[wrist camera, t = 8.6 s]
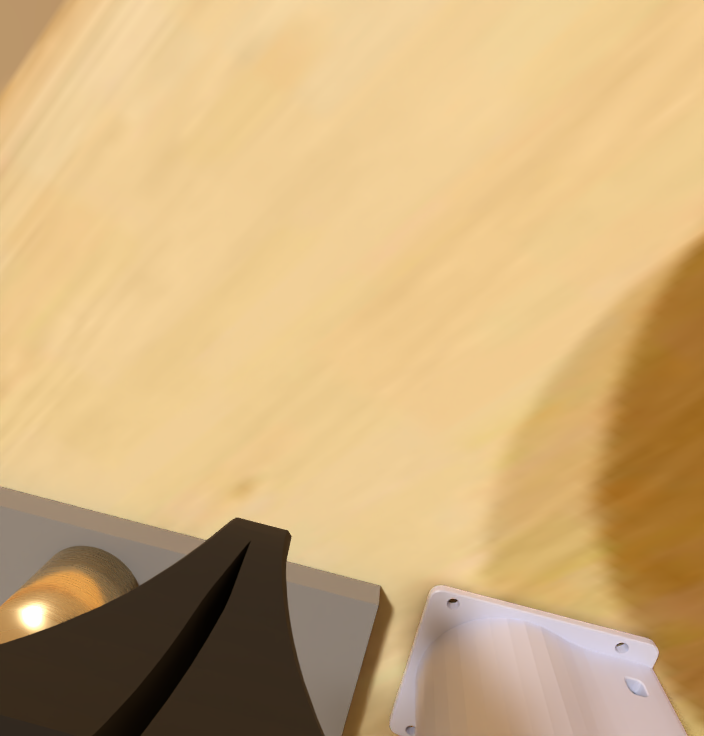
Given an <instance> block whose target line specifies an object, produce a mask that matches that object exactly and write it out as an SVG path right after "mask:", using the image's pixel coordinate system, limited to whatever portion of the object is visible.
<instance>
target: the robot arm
mask: <svg viewBox="0 0 704 736" xmlns="http://www.w3.org/2000/svg"><path fill="white" fill-rule="evenodd" d="M290 541H291V535H290V533H289V531H288V530H284V529H280V528H276V527H272V526H268V525H264V524H260V523H256V522H252V521H249V520H245V519H241V518H235V519H233V520H231V521H230V522H229V523H228V524H226V525H225V526H224V527H223V528H221V529H220V530H219V531H218V532H216V533H215V534H214V535H213V536H211V537H210V538H209V539H208V540H206V541H205V542H204V543H202V544H201V545H200V546H198V547H197V548H196V549H194V550H193V551H191V552H190V553H189V554H187V555H186V556H184V557H183V558H182V559H180V560H179V561H177V562H176V563H174V564H173V565H171V566H170V567H168V568H167V569H165V570H164V571H162V572H160V573H159V574H157V575H156V576H154V577H153V578H151V579H149V580H148V581H146V582H145V583H143V584H141V585H139V586H138V587H136V588H134V589H132V590H131V591H129V592H127V593H125V594H123V595H122V596H120V597H118V598H116V599H114V600H112V601H110V602H108V603H106V604H104V605H102V606H100V607H98V608H95V609H93V610H91V611H88V612H86V613H84V614H81V615H79V616H77V617H74V618H72V619H70V620H67V621H65V622H62V623H60V624H58V625H55V626H52V627H50V628H47V629H44V630H41V631H39V632H36V633H33V634H30V635H27V636H24V637H21V638H18V639H15V640H12V641H9V642H6V643H2V644H0V736H325V735H324V732H323V730H322V728H321V725H320V723H319V721H318V718H317V716H316V713H315V710H314V707H313V704H312V702H311V699H310V696H309V693H308V690H307V687H306V685H305V682H304V679H303V675H302V671H301V668H300V664H299V661H298V657H297V652H296V648H295V644H294V639H293V634H292V628H291V622H290V615H289V608H288V598H287V582H286V561H287V555H288V550H289V546H290ZM450 599H457V600H458V601H457V602H455V603H450V602H448V600H450ZM619 643H624V644H623V645H621V646H616V645H617V644H619ZM658 655H659V651H658V648H657V647H656V645H655V643H654V642H653V641H652V640H650V639H648V638H644V637H641V636H637V635H633V634H629V633H625V632H621V631H618V630H614V629H610V628H606V627H602V626H598V625H594V624H591V623H587V622H583V621H579V620H575V619H571V618H567V617H564V616H560V615H556V614H552V613H548V612H544V611H540V610H537V609H533V608H529V607H525V606H521V605H517V604H514V603H510V602H506V601H502V600H498V599H494V598H490V597H487V596H483V595H479V594H475V593H471V592H467V591H463V590H460V589H456V588H452V587H448V586H444V585H438V586H434V587H433V588H432V589H431V590H430V592H429V595H428V598H427V601H426V604H425V607H424V611H423V614H422V617H421V620H420V623H419V626H418V630H417V633H416V636H415V639H414V642H413V646H412V649H411V652H410V655H409V658H408V661H407V665H406V668H405V671H404V674H403V677H402V681H401V684H400V687H399V690H398V693H397V696H396V700H395V703H394V706H393V709H392V712H391V716H390V725H389V727H390V729H391V731H392V732H393V733H395V734H397V735H401V736H688V735H687V733H686V731H685V730H684V728H683V726H682V724H681V722H680V720H679V718H678V716H677V714H676V712H675V711H674V709H673V707H672V705H671V703H670V701H669V699H668V697H667V695H666V693H665V692H664V690H663V688H662V686H661V684H660V682H659V680H658V678H657V676H656V674H655V672H654V671H653V669H652V668H653V666H654V664H655V662H656V660H657V658H658ZM409 726H414V727H409Z"/></svg>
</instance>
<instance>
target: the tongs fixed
mask: <svg viewBox="0 0 704 736" xmlns="http://www.w3.org/2000/svg"><path fill="white" fill-rule="evenodd" d="M136 587H138V583H137V581H136V579H135V577H134V575H133V574H132V572H131V571H130V569H129V568H128V567H127V566H126V565H125V564H124V563H123V562H122V561H121V560H119V559H118V558H117V557H115V556H114V555H112V554H110V553H109V552H106V551H104V550H102V549H99V548H95V547H91V546H73V547H69V548H65V549H63V550H61V551H59V552H58V553H56V554H55V555H54V556H53V557H52V558H51V559H50V560H49V561H48V562H47V563H46V564H44V565H43V566H42V567H41V568H40V569H39V570H38V571H37V572H36V573H35V574H34V575H33V576H32V577H31V578H30V579H29V580H28V581H27V582H26V583H25V584H23V585H22V586H21V587H20V588H19V589H18V590H17V591H16V592H15V593H14V594H13V595H12V596H11V597H10V598H9V599H8V600H7V601H6V602H5V603H3V604H2V605H1V606H0V644H2V643H6V642H9V641H12V640H15V639H18V638H21V637H24V636H27V635H30V634H33V633H36V632H39V631H41V630H44V629H47V628H50V627H52V626H55V625H58V624H60V623H62V622H65V621H67V620H70V619H72V618H74V617H77V616H79V615H81V614H84V613H86V612H88V611H91V610H93V609H95V608H98V607H100V606H102V605H104V604H106V603H108V602H110V601H112V600H114V599H116V598H118V597H120V596H122V595H123V594H125V593H127V592H129V591H131V590H132V589H134V588H136Z"/></svg>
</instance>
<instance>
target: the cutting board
mask: <svg viewBox="0 0 704 736" xmlns="http://www.w3.org/2000/svg"><path fill="white" fill-rule="evenodd" d="M205 541H206V540H202V539H198V538H195V537H191V536H187V535H183V534H179V533H175V532H172V531H168V530H164V529H160V528H156V527H152V526H149V525H145V524H141V523H137V522H133V521H129V520H126V519H122V518H118V517H114V516H110V515H106V514H103V513H99V512H95V511H91V510H87V509H83V508H80V507H76V506H72V505H68V504H64V503H61V502H57V501H53V500H49V499H45V498H41V497H38V496H34V495H30V494H26V493H22V492H18V491H15V490H11V489H7V488H3V487H0V606H1V605H2V604H3V603H5V602H6V601H7V600H8V599H9V598H10V597H11V596H12V595H13V594H14V593H15V592H16V591H17V590H18V589H19V588H20V587H21V586H22V585H23V584H25V583H26V582H27V581H28V580H29V579H30V578H31V577H32V576H33V575H34V574H35V573H36V572H37V571H38V570H39V569H40V568H41V567H42V566H43V565H44V564H46V563H47V562H48V561H49V560H50V559H51V558H52V557H53V556H54V555H55V554H56V553H58V552H59V551H61V550H63V549H65V548H69V547H73V546H91V547H95V548H99V549H102V550H104V551H106V552H109V553H110V554H112V555H114V556H115V557H117V558H118V559H119V560H121V561H122V562H123V563H124V564H125V565H126V566H127V567H128V568H129V569H130V571H131V572H132V574H133V575H134V577H135V579H136V581H137V583H138V586H139V585H141V584H143V583H145V582H146V581H148V580H149V579H151V578H153V577H154V576H156V575H157V574H159V573H160V572H162V571H164V570H165V569H167V568H168V567H170V566H171V565H173V564H174V563H176V562H177V561H179V560H180V559H182V558H183V557H184V556H186V555H187V554H189V553H190V552H191V551H193V550H194V549H196V548H197V547H198V546H200V545H201V544H202V543H204V542H205ZM286 582H287V598H288V608H289V615H290V622H291V628H292V634H293V639H294V644H295V648H296V652H297V657H298V661H299V664H300V668H301V671H302V675H303V679H304V682H305V685H306V687H307V690H308V693H309V696H310V699H311V702H312V704H313V707H314V710H315V713H316V716H317V718H318V721H319V723H320V725H321V728H322V730H323V732H324V735H325V736H342V732H343V729H344V725H345V722H346V718H347V715H348V711H349V708H350V704H351V701H352V697H353V694H354V690H355V687H356V683H357V680H358V676H359V673H360V669H361V666H362V662H363V659H364V655H365V652H366V648H367V644H368V641H369V637H370V634H371V630H372V627H373V623H374V620H375V616H376V613H377V609H378V606H379V596H380V586H379V585H375V584H371V583H367V582H363V581H359V580H356V579H352V578H348V577H344V576H340V575H336V574H333V573H329V572H325V571H321V570H317V569H313V568H310V567H306V566H302V565H298V564H294V563H290V562H287V561H286Z"/></svg>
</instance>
